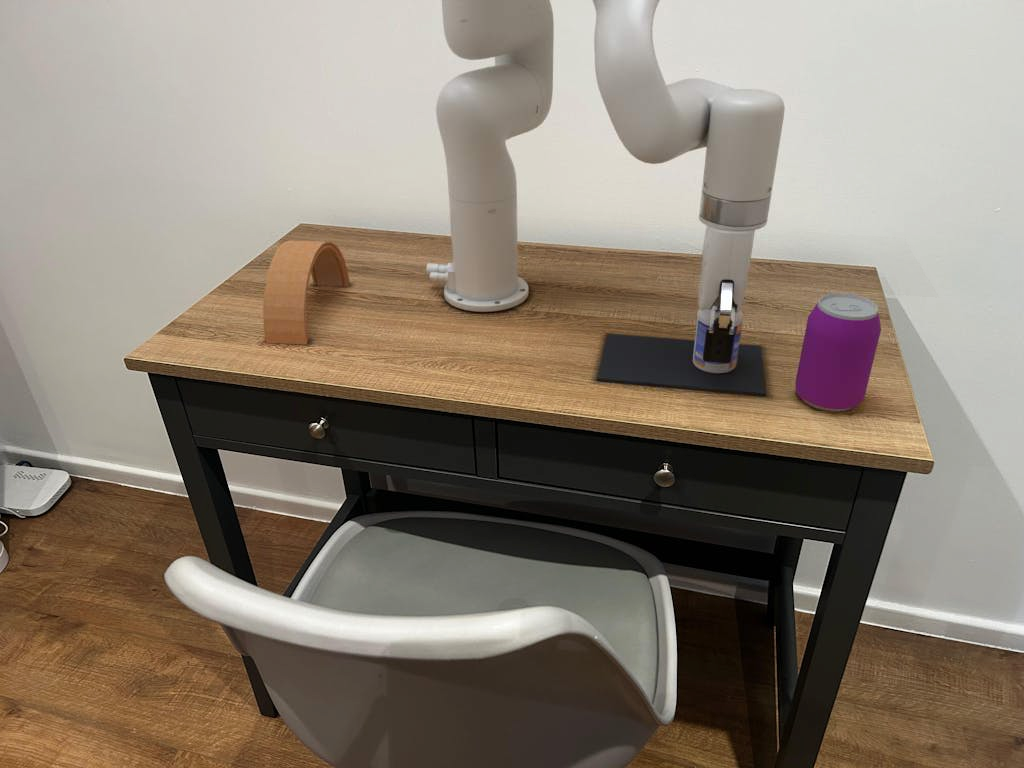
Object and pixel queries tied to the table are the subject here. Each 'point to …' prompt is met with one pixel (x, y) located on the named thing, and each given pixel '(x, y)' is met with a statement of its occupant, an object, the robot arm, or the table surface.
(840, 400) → the beverage can
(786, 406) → the table surface
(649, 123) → the robot arm
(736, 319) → the pill bottle
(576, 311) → the table surface
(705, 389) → the desk mat
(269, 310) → the arch
